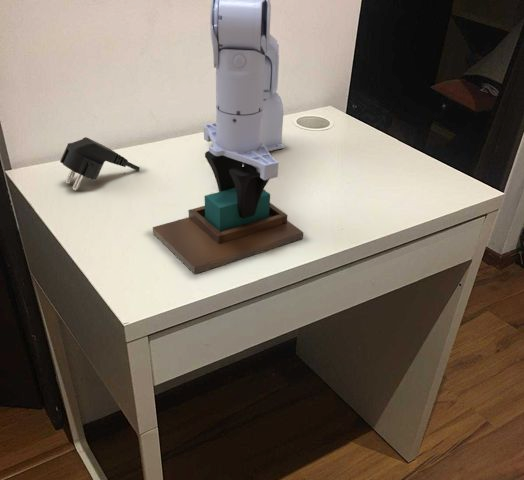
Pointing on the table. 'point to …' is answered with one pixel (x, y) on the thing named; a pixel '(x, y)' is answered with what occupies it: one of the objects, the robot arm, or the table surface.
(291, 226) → the brown wooden tray
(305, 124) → the table surface
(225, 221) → the teal rectangular block
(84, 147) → the power plug
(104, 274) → the table surface
